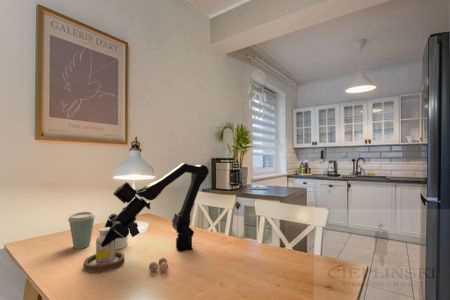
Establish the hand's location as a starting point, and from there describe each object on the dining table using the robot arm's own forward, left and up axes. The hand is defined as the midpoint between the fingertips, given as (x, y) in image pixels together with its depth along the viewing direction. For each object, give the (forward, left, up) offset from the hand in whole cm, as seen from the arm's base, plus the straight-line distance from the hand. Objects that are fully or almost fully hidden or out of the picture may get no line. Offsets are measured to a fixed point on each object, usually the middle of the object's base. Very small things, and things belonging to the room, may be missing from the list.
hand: (101, 242), depth 91 cm
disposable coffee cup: (+12, -24, -9) cm, 28 cm away
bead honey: (-22, +9, -7) cm, 25 cm away
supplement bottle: (-2, 0, -8) cm, 8 cm away
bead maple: (-19, +12, -7) cm, 23 cm away
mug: (-3, -18, -9) cm, 21 cm away
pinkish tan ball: (-22, +13, -7) cm, 27 cm away
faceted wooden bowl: (-1, 0, -9) cm, 9 cm away
